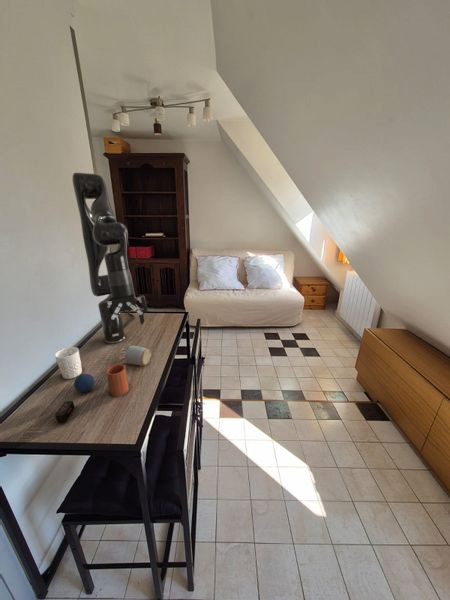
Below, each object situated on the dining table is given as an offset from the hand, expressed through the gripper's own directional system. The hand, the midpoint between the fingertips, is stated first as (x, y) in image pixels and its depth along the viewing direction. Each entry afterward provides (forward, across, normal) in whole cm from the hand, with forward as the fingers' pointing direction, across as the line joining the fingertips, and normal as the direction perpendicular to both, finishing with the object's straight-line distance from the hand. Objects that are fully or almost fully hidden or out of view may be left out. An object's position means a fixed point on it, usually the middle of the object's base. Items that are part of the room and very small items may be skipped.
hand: (129, 326), depth 91 cm
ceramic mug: (+21, 0, -12) cm, 24 cm away
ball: (+18, +19, +1) cm, 26 cm away
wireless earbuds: (+22, +23, +12) cm, 34 cm away
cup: (+22, +7, +5) cm, 23 cm away
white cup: (+20, +26, -11) cm, 34 cm away
